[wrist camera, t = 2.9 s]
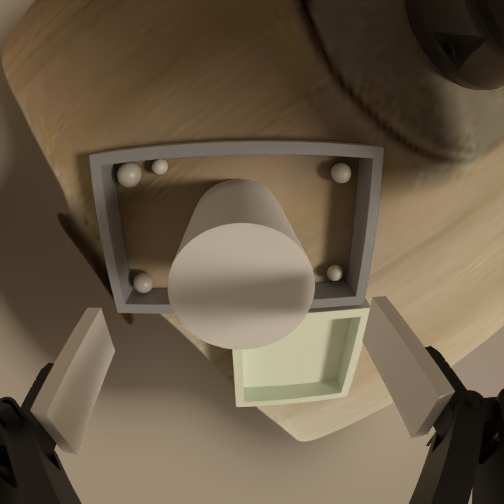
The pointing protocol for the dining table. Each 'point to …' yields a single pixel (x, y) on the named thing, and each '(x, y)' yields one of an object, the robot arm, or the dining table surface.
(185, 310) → the cup
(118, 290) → the gravel bin
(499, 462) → the robot arm
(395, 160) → the dining table surface
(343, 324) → the sage tray
